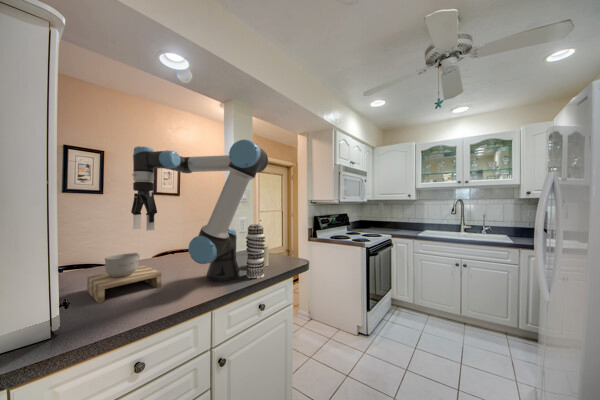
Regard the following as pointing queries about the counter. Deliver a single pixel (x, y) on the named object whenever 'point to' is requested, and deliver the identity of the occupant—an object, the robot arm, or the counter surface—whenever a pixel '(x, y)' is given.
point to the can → (265, 255)
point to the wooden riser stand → (120, 281)
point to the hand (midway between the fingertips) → (143, 229)
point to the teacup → (121, 264)
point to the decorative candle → (255, 251)
